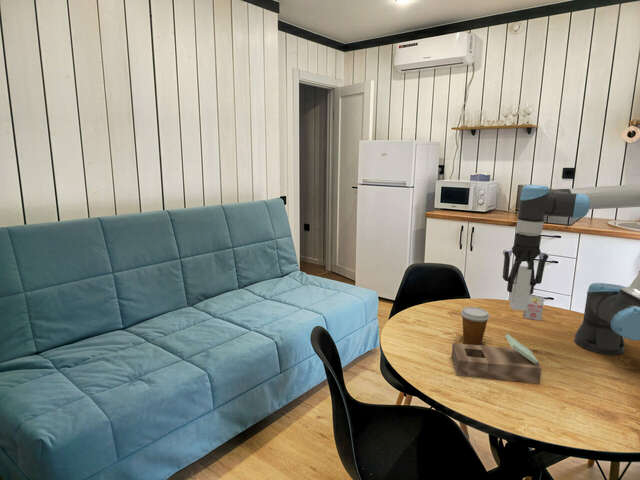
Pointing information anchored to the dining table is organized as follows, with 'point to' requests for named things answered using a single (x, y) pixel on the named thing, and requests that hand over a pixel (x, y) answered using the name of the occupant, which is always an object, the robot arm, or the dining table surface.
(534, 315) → the tea bag
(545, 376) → the dining table surface
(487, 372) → the walnut block
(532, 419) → the dining table surface
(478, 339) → the disposable coffee cup
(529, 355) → the plate
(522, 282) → the steel pin
